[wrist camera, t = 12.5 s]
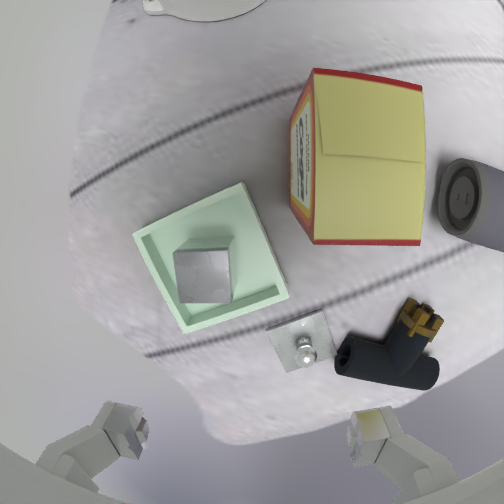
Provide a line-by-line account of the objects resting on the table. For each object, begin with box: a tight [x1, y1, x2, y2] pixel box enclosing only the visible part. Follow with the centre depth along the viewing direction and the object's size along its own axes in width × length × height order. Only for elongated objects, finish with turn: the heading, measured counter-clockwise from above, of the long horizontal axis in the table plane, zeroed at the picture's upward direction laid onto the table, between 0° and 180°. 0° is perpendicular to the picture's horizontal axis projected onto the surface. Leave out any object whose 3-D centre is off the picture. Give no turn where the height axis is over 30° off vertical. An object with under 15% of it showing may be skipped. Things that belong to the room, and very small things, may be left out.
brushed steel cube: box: [173, 236, 237, 303], centre depth 29 cm, size 5×5×6 cm
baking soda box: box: [290, 68, 426, 246], centre depth 21 cm, size 10×6×16 cm
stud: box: [266, 309, 338, 373], centre depth 32 cm, size 7×7×4 cm
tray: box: [132, 181, 290, 334], centre depth 30 cm, size 13×13×3 cm
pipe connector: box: [334, 298, 444, 390], centre depth 32 cm, size 12×5×15 cm
